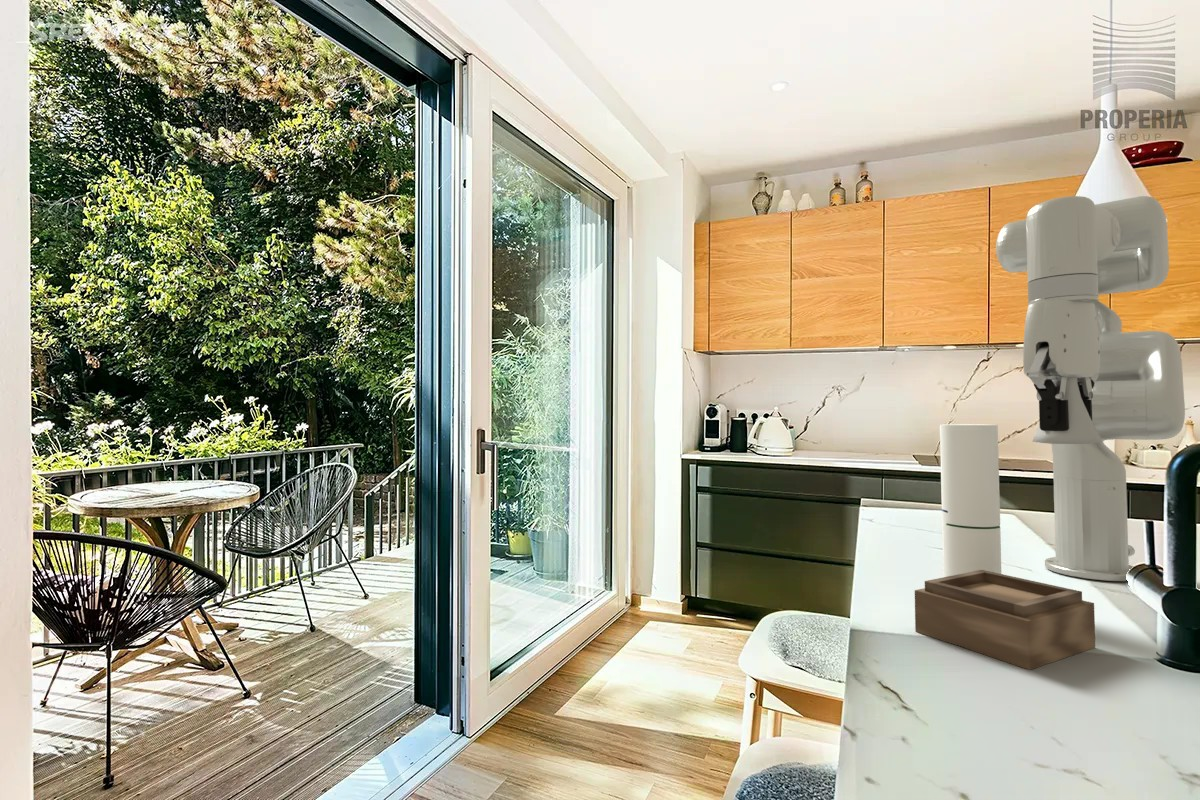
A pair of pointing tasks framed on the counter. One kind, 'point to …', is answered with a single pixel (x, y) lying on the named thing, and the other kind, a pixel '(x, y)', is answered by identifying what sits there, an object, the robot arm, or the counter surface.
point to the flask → (1072, 421)
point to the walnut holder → (1006, 617)
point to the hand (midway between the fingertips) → (1066, 428)
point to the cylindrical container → (970, 498)
